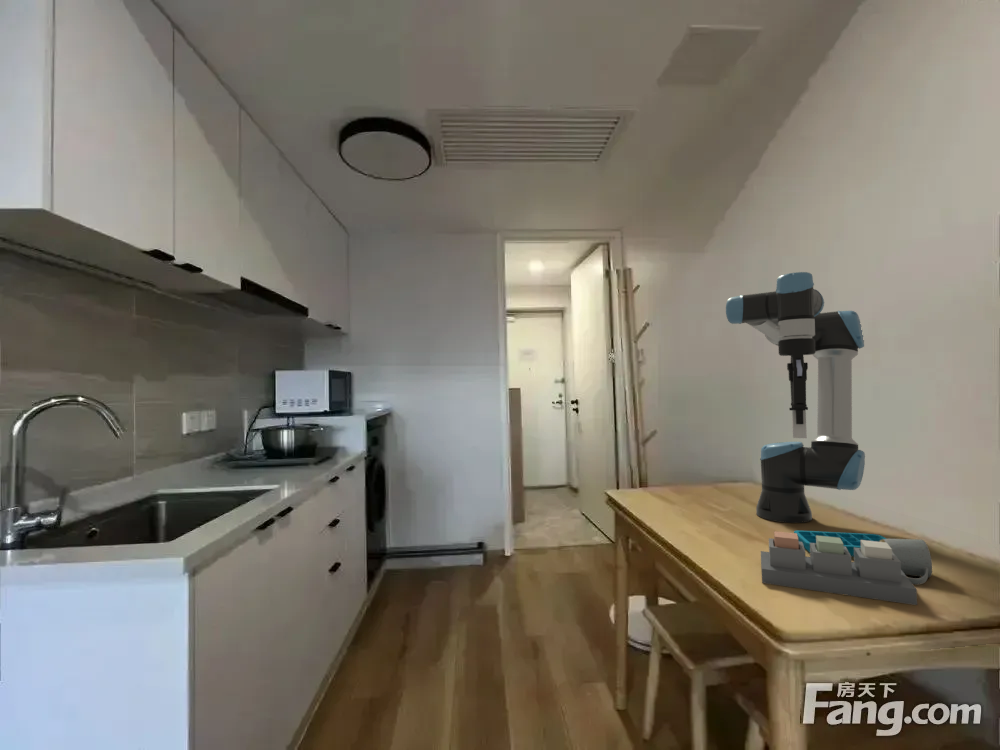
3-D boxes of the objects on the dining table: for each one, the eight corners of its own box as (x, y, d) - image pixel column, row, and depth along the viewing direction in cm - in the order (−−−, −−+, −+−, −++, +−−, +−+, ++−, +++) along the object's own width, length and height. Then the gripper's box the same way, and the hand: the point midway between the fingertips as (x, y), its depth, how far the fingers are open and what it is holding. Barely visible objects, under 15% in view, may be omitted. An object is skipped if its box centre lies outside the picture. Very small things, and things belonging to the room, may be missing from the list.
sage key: (816, 555, 108) (815, 535, 108) (840, 558, 106) (840, 537, 106) (819, 562, 104) (818, 541, 104) (844, 565, 102) (843, 543, 102)
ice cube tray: (792, 541, 132) (792, 530, 132) (879, 545, 127) (879, 534, 127) (808, 556, 121) (807, 544, 121) (904, 561, 116) (903, 549, 116)
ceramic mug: (877, 564, 114) (875, 531, 114) (922, 569, 110) (920, 535, 110) (890, 583, 104) (888, 546, 104) (939, 589, 101) (938, 551, 101)
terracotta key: (774, 551, 111) (774, 531, 111) (797, 553, 109) (796, 533, 109) (775, 557, 107) (774, 536, 108) (799, 560, 105) (798, 539, 106)
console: (761, 563, 116) (760, 534, 116) (900, 581, 104) (898, 548, 104) (762, 582, 105) (761, 549, 105) (917, 605, 93) (915, 568, 94)
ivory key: (861, 561, 104) (860, 539, 104) (887, 564, 102) (886, 542, 102) (865, 568, 100) (864, 546, 100) (892, 571, 98) (891, 549, 98)
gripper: (776, 341, 125) (780, 434, 124) (779, 337, 113) (783, 440, 113) (811, 339, 121) (815, 435, 121) (818, 335, 110) (821, 441, 109)
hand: (799, 437), depth 117 cm, fingers closed
